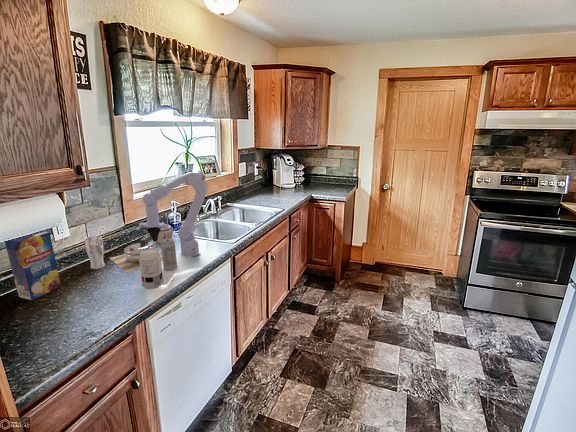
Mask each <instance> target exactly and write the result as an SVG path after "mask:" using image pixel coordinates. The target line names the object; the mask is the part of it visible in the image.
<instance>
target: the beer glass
mask: <svg viewBox="0 0 576 432" xmlns="http://www.w3.org/2000/svg"><path fill="white" fill-rule="evenodd" d="M84 244H85V245H84V246H85V251H86V253H87V256H88V259H89V262H90V269H92V270H97V269H101V268H104V267H105V266H106V264H105V262H104V243H103V239H102V236H101V235H91V236H88V237H85V238H84Z"/></svg>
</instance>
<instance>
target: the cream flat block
mask: <svg viewBox="0 0 576 432" xmlns="http://www.w3.org/2000/svg"><path fill="white" fill-rule="evenodd" d="M124 254H126V253H125V252H124ZM126 261H127V262H128V263H132V264H139V255H128V254H126Z"/></svg>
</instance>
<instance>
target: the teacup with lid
mask: <svg viewBox="0 0 576 432" xmlns="http://www.w3.org/2000/svg"><path fill="white" fill-rule="evenodd" d="M161 223H163V224H165V222H164V221H163V222H161ZM173 234H174V227H172V226H171V225H170V224H168V228H167V229H165V228H161V229H160V232H159V235H158V240H157V241H156V242H155V243H157V244H161V243H162V240H163V239H166V238H172V239H173Z"/></svg>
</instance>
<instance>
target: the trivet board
mask: <svg viewBox="0 0 576 432" xmlns="http://www.w3.org/2000/svg"><path fill="white" fill-rule="evenodd" d="M154 249H157V248H156V247H154ZM157 250H158V252H159V253H160V258H161V263H163V259H162V250H161V251H160V249H157ZM109 259H110V260H111V261H112V262H114V263H115V264H116V265H117V266H118V267H120V268H121V269H122V270H123V271H124V272H126V273H128V272H132V271H135V270H138V269H139V270H140V263H139V264H132V263H128V262H127V261H126V254H125V253H123V254H121V255H117V256H113V257H109Z"/></svg>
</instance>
